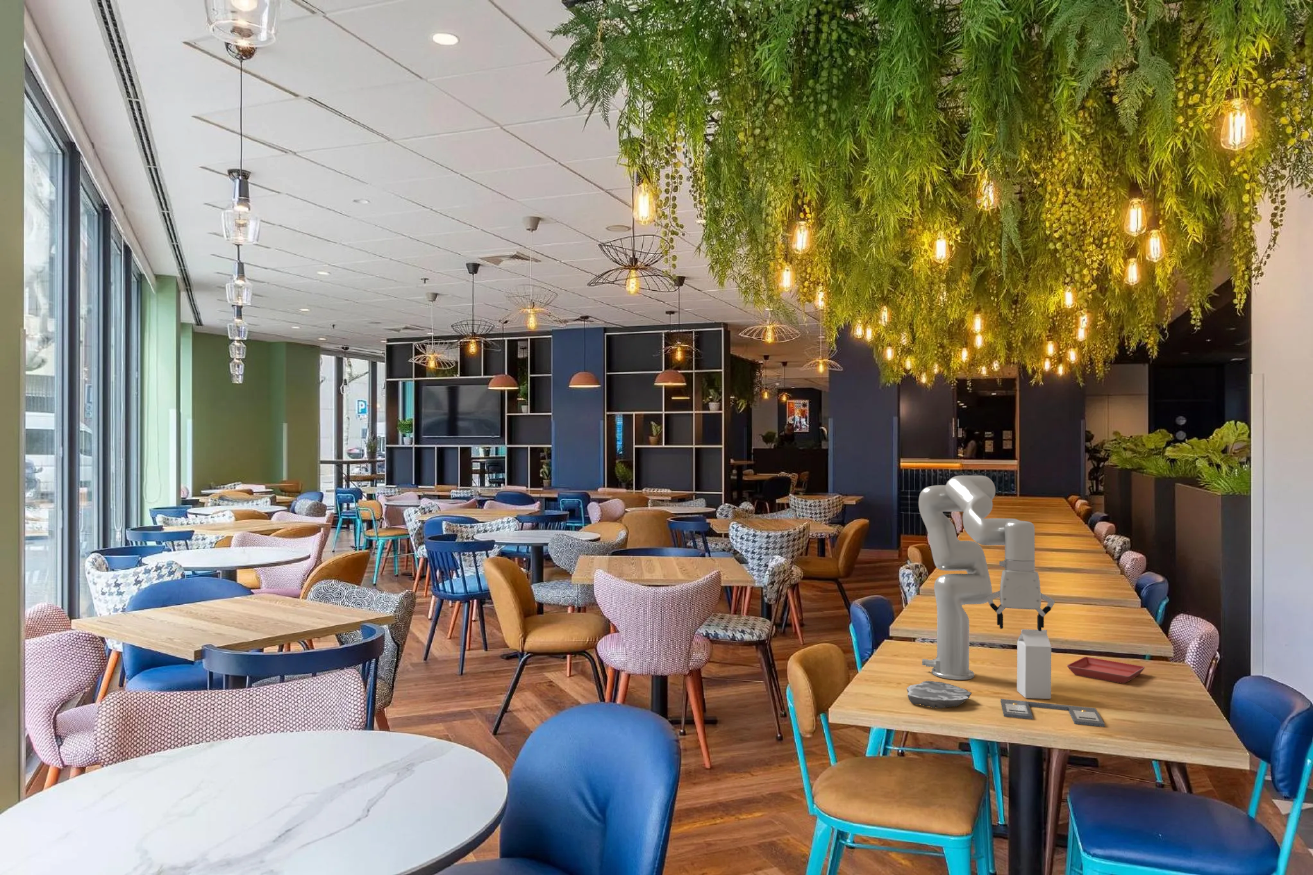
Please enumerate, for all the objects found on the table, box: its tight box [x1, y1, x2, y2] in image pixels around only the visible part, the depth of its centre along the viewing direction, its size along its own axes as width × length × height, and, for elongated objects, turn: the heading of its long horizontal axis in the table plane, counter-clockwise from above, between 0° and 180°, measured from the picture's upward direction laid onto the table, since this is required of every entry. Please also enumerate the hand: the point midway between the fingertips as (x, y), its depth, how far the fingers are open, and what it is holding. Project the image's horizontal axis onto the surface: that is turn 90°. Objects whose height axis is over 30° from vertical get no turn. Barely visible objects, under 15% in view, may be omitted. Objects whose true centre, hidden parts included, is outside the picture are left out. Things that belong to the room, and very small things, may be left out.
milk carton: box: [1016, 628, 1052, 700], centre depth 246 cm, size 7×7×19 cm
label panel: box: [1000, 698, 1106, 728], centre depth 229 cm, size 24×14×1 cm, turn 71°
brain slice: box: [906, 680, 972, 709], centre depth 240 cm, size 20×17×3 cm
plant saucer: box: [1066, 656, 1146, 684], centre depth 270 cm, size 18×18×3 cm
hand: (1020, 629), depth 232 cm, fingers open, 9 cm apart
